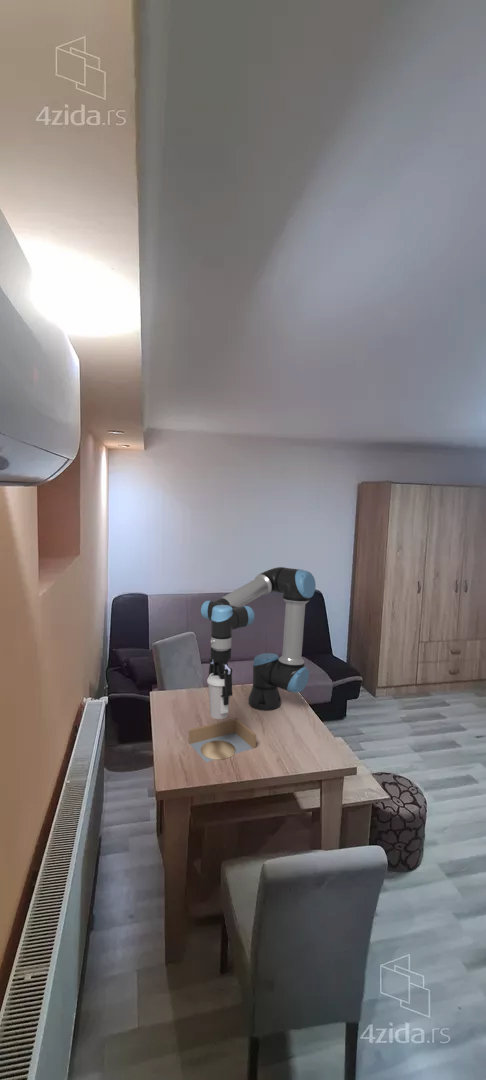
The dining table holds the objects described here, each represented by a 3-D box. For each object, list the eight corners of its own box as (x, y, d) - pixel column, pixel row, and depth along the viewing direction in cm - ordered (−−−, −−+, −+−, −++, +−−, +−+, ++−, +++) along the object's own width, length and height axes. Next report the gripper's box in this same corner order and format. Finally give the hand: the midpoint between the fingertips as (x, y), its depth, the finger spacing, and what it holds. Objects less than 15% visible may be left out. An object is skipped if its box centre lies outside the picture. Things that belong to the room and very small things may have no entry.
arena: (235, 732, 188) (236, 718, 188) (255, 749, 175) (256, 734, 175) (188, 744, 177) (188, 729, 177) (205, 764, 165) (206, 748, 164)
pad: (225, 738, 181) (225, 737, 181) (241, 754, 170) (241, 753, 170) (194, 746, 175) (194, 745, 175) (210, 763, 164) (210, 762, 164)
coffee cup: (234, 711, 175) (235, 672, 174) (228, 722, 166) (229, 681, 165) (209, 708, 177) (211, 669, 176) (202, 719, 168) (203, 679, 166)
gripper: (199, 641, 176) (198, 699, 178) (225, 657, 159) (223, 721, 161) (217, 639, 180) (215, 696, 182) (243, 654, 163) (241, 717, 165)
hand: (219, 708), depth 171 cm, fingers closed on coffee cup, 7 cm apart
